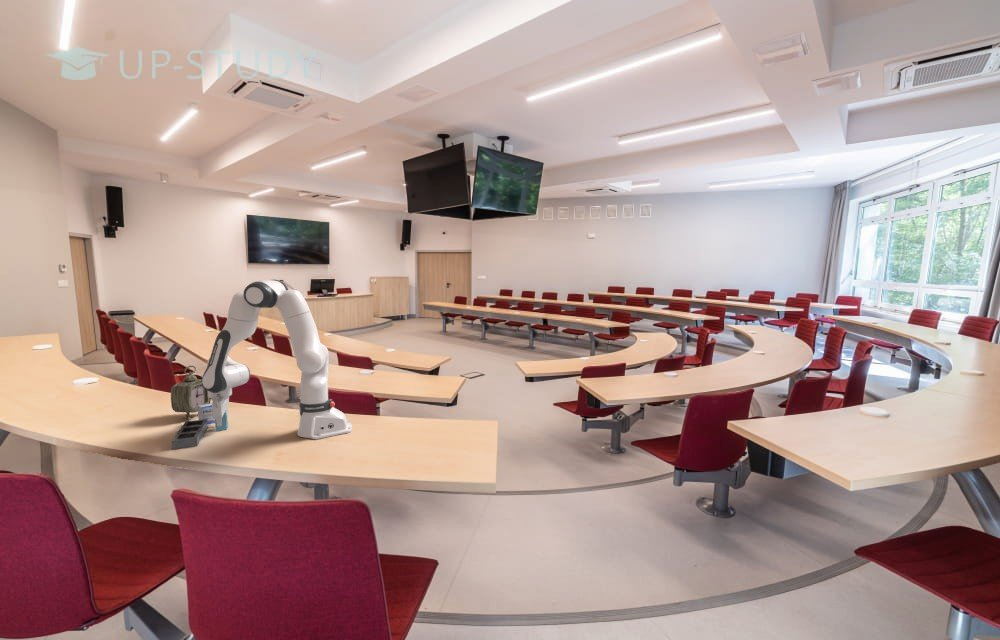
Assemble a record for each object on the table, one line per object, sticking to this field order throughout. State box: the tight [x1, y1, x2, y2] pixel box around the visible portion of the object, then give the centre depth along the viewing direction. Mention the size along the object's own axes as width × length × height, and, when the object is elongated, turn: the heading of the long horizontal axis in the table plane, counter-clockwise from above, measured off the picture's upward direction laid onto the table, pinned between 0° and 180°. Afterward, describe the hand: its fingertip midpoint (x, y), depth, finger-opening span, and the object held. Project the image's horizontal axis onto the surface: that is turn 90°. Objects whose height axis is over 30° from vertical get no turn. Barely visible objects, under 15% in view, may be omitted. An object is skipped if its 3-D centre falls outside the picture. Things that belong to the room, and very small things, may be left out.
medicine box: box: [197, 402, 215, 425], centre depth 192 cm, size 8×4×9 cm, turn 143°
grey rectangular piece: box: [171, 419, 209, 450], centre depth 174 cm, size 8×24×4 cm, turn 27°
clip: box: [214, 409, 229, 432], centre depth 184 cm, size 4×4×8 cm
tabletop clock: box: [170, 365, 212, 421], centre depth 198 cm, size 14×9×25 cm, turn 179°
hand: (221, 422), depth 184 cm, fingers open, 8 cm apart
